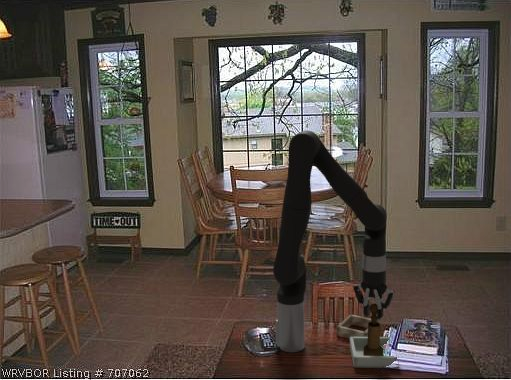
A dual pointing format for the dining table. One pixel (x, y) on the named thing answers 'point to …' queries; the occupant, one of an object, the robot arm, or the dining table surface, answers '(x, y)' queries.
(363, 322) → the beige square dish
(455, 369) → the dining table surface
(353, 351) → the tray
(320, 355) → the dining table surface
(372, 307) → the brown pepper mill
